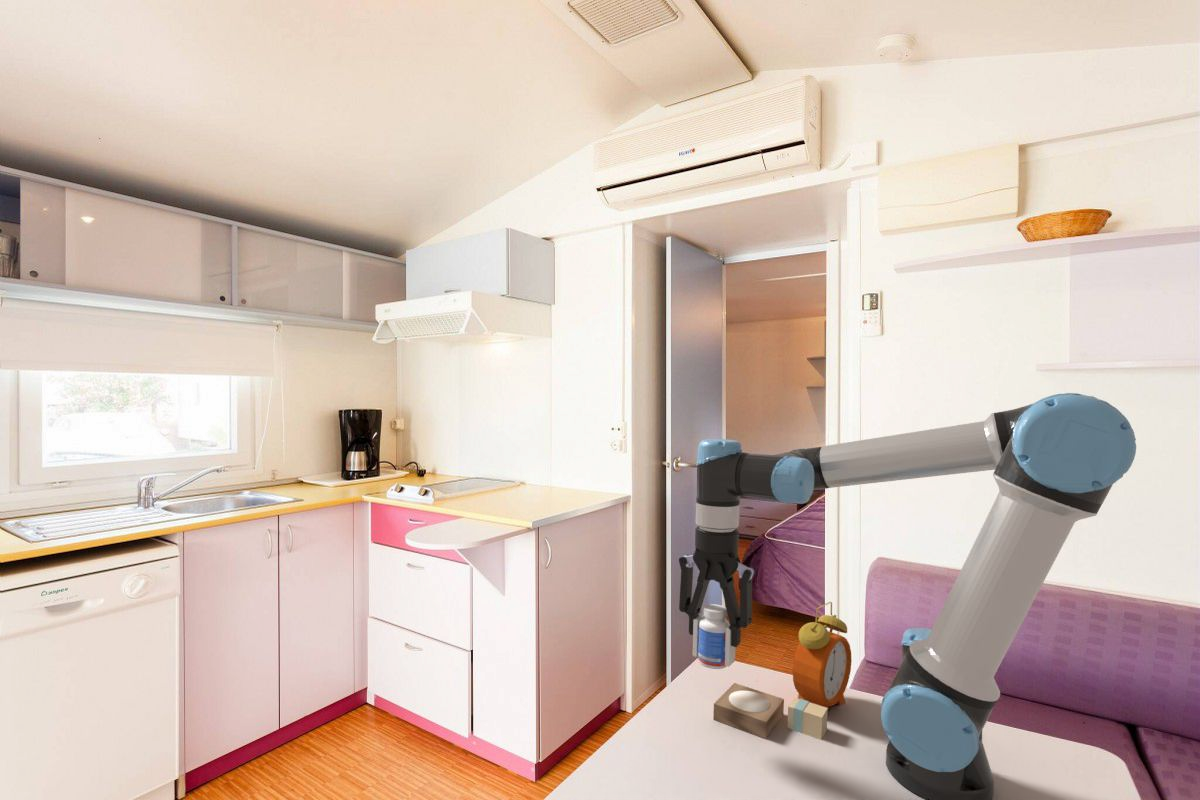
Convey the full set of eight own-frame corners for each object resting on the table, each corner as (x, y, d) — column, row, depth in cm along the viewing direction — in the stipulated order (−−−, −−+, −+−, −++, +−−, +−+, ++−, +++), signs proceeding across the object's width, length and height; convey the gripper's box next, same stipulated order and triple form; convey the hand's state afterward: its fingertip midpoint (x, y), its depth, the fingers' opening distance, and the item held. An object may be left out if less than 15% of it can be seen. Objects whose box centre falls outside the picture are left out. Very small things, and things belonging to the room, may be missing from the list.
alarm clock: (820, 724, 110) (824, 618, 110) (790, 711, 114) (793, 608, 114) (851, 700, 119) (855, 602, 119) (822, 688, 124) (825, 593, 123)
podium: (783, 714, 113) (784, 698, 113) (765, 738, 105) (766, 721, 105) (733, 697, 119) (734, 682, 119) (713, 719, 111) (713, 703, 111)
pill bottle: (729, 671, 101) (730, 615, 101) (697, 668, 102) (699, 612, 102) (728, 658, 106) (730, 604, 106) (698, 654, 107) (700, 601, 107)
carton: (826, 729, 109) (827, 707, 109) (821, 739, 105) (821, 717, 105) (794, 718, 112) (794, 696, 112) (787, 728, 109) (788, 706, 109)
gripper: (775, 531, 102) (772, 665, 102) (679, 516, 112) (676, 638, 113) (760, 539, 96) (756, 682, 96) (660, 523, 106) (657, 651, 106)
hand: (713, 658), depth 104 cm, fingers closed on pill bottle, 5 cm apart
